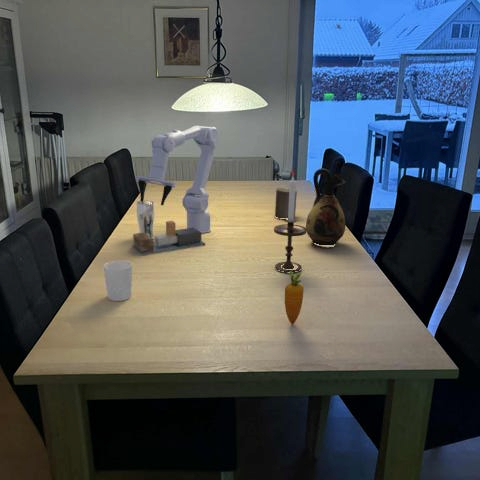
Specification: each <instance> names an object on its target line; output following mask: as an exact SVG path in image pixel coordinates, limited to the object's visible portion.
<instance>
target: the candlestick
mask: <svg viewBox="0 0 480 480" xmlns="http://www.w3.org/2000/svg"><path fill="white" fill-rule="evenodd" d="M290 173H291V179H290V181H289V188H290V190H289V210H288V220H284V222H286V223H285V224H283V223H282V224H278V225H275V226H274V228H273V232H274V233H276V234H277V235H281V236H285V237H287V246H285V247H284V249H285V251H286V253H285V256H286V260H285V261H280V262H278V263H275V265H274V269H275V268H276V269H277V270H280V271H284V272H289V271H292V272H295V271H299V270H300V269H301V270H302V265H301V264H300V263H297V262H292V260H291V259H292V257H293V253H292V252H293V250H294V247H293V246H292V241H293V240H292V239H293V237H300V236H304V235H306V234H307V229H306V226H302V225H300V224H295V223H297V220H296V219H294V203H295V189H296V183H297V181H295V178H294V176H295V173H294V169H293V168H291V172H290ZM283 264H284V265H283ZM293 264H295V265H297V266H298V268H297V269H296V270H286V269H293V268H294V266H293ZM281 265H283V266H282V268H281ZM283 268H284V269H283ZM276 269H275V270H276ZM277 270H276V271H277Z"/></svg>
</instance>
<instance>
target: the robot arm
mask: <svg viewBox="0 0 480 480" xmlns="http://www.w3.org/2000/svg"><path fill="white" fill-rule="evenodd" d="M219 137H220V135H219V131H218V129H217V128H216V127H215V126H202V125H194V126H191V127H190V128H188V129H185V130H183V131H181V130H178V129H172V132H171V131H170V132H165V133H164V134H163V135H162V134H159V135H156V136H155V137H153V139H152V140H151V148H152V149H151V150H152V151H151V152H152V158H151V164H150V168H149V175H148V176H142V175H136V178H135V181H137V184H138V188H139V193H140V194H139V195H140V200H139V201H142V202H143V201H145V192H146V188H147V185H148V184H152V185H158V186H163V192H162V198H161V201H160V206H164V204H165V202H166V199H167V197H168V196H169V194H170V193H171V192H172V189H175V188H176V182H172V181H169V180H168V181H167V180H165V176H166V172H167V166H168V160H169V156H170V152H172V151H173V150H174V149H175V148H177V147H180V146H182V145H184V144H185V141H189V140H190V139H193V141H194V142H195V144H196V146H197V147H198V148H200V150H201V152H200V156H199V160H198V164H197V168H196V171H195V174H194V178H193V183H192V186H191V187H190V188H188V189H187V190H186V193H184V196H183V198H182V206H183V207H184V209H185V212H186V228H185V229H187V228H195V229H196V230H198V231H200V232H201V234H204V233H211V232H212V230H211V215H210V212H209V210H208V206H209V194H208V193H207V191H206V186H207V183H208V179H209V176H210V175H209V174H210V171H211V168H212V163H213V160H214V157H215V152H216V149H217V145H218V141H219Z"/></svg>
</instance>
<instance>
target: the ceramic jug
mask: <svg viewBox="0 0 480 480" xmlns="http://www.w3.org/2000/svg"><path fill="white" fill-rule="evenodd" d="M321 175H325V176H326V178H324V179H323V180H322V181H321V186H323V187H324V190H323V192H321V190H320V186H319V176H321ZM312 178H313V184H314V185H313V186H314V190H315V199H314V201H313V202H314V203H313V205H312V207H311V209H310V210H309V212H308V215H307V217H306V221H305V228H306V229H307V231H306V234H307V236H308V237H309V238H310V240H311V243H312V242H313V243H316V244H319V245H334V244H336V245H337V242H339V241H340V239H342V237H343V236H344V234H345V233H346V218H345V213H344V211H343V209H342V206H341V205H340V203H339V201H338V199H337V198H336V196H335V193H334V188H336V187H337V186H341V185H343V184H346V180H344V178H343V177H342V175H341V174H340V173H337V174H334V175H333V176H332V173H331V172H330V170H328V169H326V168H325V167H324V168H323V167H322V168H319V169H317V170H316V171H315V172H314V175H313V177H312ZM321 193H322V194H321Z"/></svg>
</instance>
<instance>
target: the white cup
mask: <svg viewBox="0 0 480 480" xmlns="http://www.w3.org/2000/svg"><path fill="white" fill-rule="evenodd" d="M132 268H133V263H132V262H131V261H129V260H123V259H122V260H120V259H119V260H112V261H108V262H106V263H104V264H103V271H104V278H105V286H106V292H107V298H108V300H110V301H113V302H123V301H127V300H129V299H130V298H131V297H132V286H133V285H132V284H133V283H132V282H133V273H132V272H133V269H132Z"/></svg>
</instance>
